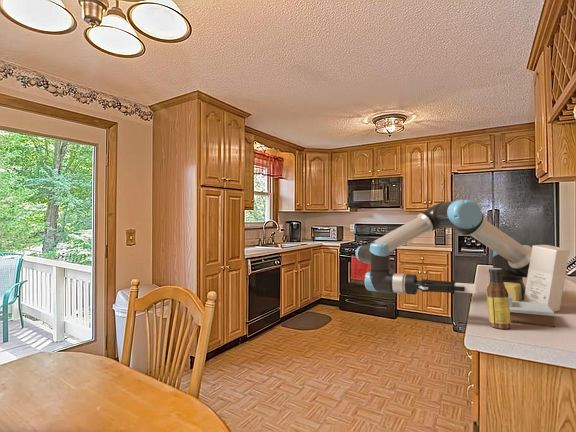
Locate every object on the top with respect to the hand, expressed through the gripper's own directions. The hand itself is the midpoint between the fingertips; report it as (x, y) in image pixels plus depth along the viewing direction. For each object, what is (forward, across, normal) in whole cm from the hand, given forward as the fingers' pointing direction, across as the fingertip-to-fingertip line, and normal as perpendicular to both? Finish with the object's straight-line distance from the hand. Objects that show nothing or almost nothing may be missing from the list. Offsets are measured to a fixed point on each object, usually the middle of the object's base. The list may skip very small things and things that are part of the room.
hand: (475, 288), depth 117 cm
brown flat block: (+16, -14, -12) cm, 25 cm away
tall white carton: (+23, -32, -12) cm, 41 cm away
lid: (+16, -14, -9) cm, 24 cm away
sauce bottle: (+7, 0, -13) cm, 14 cm away
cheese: (+10, -32, -13) cm, 36 cm away
